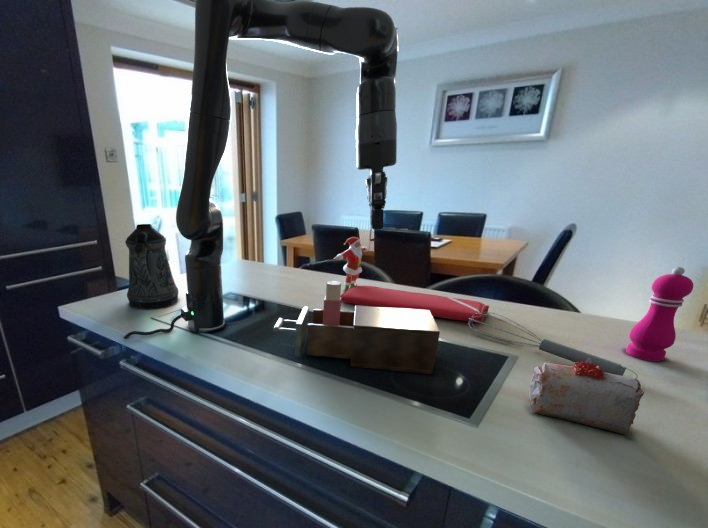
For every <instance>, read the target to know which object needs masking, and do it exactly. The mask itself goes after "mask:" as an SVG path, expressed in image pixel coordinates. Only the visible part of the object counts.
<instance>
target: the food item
mask: <svg viewBox="0 0 708 528" xmlns="http://www.w3.org/2000/svg"><path fill="white" fill-rule="evenodd" d="M644 394H645V392H644V391H643V390H642V385H641V383H640V380H638V378H637V379H636V377H630V376H625V375H622V376H620V375H615V374H611V373H606V372H603V369H602V368H601V367H600V366H597V365H594V363H592V360H591V359H587V360H586V361H582V362H579V361H578V362H574V363H573V366H572V365H566V364H558V363H551V362H546V361H545V362H543V364H542V366H538V365H537V366H534V368H533V375H532V378H531V381H530V384H529V400H530V406H531V408H532V412H533V413H535V414H539V415H543V416H548V417H551V418H558V419H563V420H566V421H570V422H575V423H578V424H582V425H586V426H590V427H594V428H597V429H601V430H605V431H610V432H615V433H617V434H621V435H626V436H629V435H630V434H631V431H630V430H631V427H632V425H634V422H635V418H636V416H637V414H636V412H637V411H638V410H639V407H640V405H641V404H640V401H641V399H642V398H643V396H644Z"/></svg>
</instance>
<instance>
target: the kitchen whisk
mask: <svg viewBox="0 0 708 528" xmlns="http://www.w3.org/2000/svg"><path fill="white" fill-rule="evenodd" d="M489 313H490V314H494V315H497V316H500V317H502V318H504V319H506V320H508V321H510V322H513V323H514V324H516V326H515V325H514V324H512V323H509V322H508V321H505V320H503V319H501V318H498V317H496V316H493V315H490V314H489ZM477 314H478V313H477ZM479 314H482V313H481V312H479ZM474 315H476V314H474ZM474 315H473V316H472V318H471V319H470V318H469V319H470V320H471V321H472V320H473V318H474ZM484 315H485V317H487V318H491V319H495V320H498V321H501V322H503V323H506V324H508V325H510V326H512V327H514V328H516V329H518V330H520V331H522V332H524V333H525V334H527V335H529V336H531V337H533V338H534V339H536V340H538V341H539V342H538V341H536V340H532V339H530V338H527V337H524V336H521V335H519V334H516V333H513V332H510V331H507V330H504V329H502V328H499V327H496V326H493V325H490V324H487V323H485V322H483V321H482V322H479V321H476V320H473V321H476V322H475V323H479V324H481V325H484V326H486V327H490V328H493V329H495V330H498V331H501V332H504V333H507V334H510V335H513V336H516V337H519V338H522V339H524V340H527V341H530V342H533V343H536V344H532V343H527V342H521V341H516V340H511V339H506V338H502V337H497V336H493V335H491V334H487V333H484V332H483V331H481V330H480V329H478V328H476V327H475V325H474V324H473V323H474V322H471V321H467V322H468V323H467V324H468V326H469V328H470V331H472V332H473V334H475V335H477V336H478V337H480V338H483V339H486V340H489V341H492V342H495V343H496V342H497V343H501V344H504V342H502V341H505V345H510V342H511V345H512V346H517V344H519V347H520V346H522V347H526V346H529V347H530V348H531V347H532V348H538V350H539V351H542V352H544V353H545V352H546V353H547V354H550V355H554V356H556V357H558V358H561V359H564V360H567V361H570V362H572V363H575V362H578V361H579V362H582V361H586V360H587V359H591V360H592V363H594V365H597V366H600V367H601V368H602V369H603V372H606V373H611V374H615V375H620V376H624V374H625V372H626V370H628V371H630V372H632V373H634V375H635V376H636V377H635V378H636V379H637V380H638V374H637V373H636V372H635V371H633V370H632V369H629V368H628V367H627V366H623V365H622V364H621V363H618V362H614V361H612V360H609V359H605V358H603V357H600V356H597V355H594V354H591V353H588V352H586V351H583V350H580V349H576V348H574V347H571V346H567V345H564V344H562V343H560V342H559V343H558V342H555V341H553V340H550V339H547V338H544V339H541V338H540V337H539V336H538V335H537V334H535V333H533V332H532V331H530V330H528V329H527V328H526V327H524V326H523V325H521V324H519V323H517V322H516V321H514V320H512V319H510V318H507V317H506V316H503V315H501V314H498V313H495V312H491V311H488V313H487V314H484ZM475 317H478V316H475ZM472 326H473V327H472ZM518 326H520V327H518ZM475 331H476V332H477V333H476V332H475ZM527 331H528V332H527ZM478 333H480V334H482V335H485V336H489V337H491V338H494V339H498V340H502V341H498V340H493V339H490V338H487V337H484V336H481V335H480V334H478ZM514 343H515V344H514Z"/></svg>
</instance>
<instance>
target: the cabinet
mask: <svg viewBox="0 0 708 528" xmlns="http://www.w3.org/2000/svg"><path fill="white" fill-rule="evenodd" d="M354 312H355V315H354V329H353V341H352V352H351V359H350V363H349V366H350V367H352V368H362V369H372V370H373V369H374V370H381V371H383V370H384V371H393V372H404V373H411V374H412V373H414V374H423V375H433V373H434V367H435V362H436V356H437V352H438V351H437V350H438V345H439V341H440V333H441V331H440V329H439V326H438V325H437V323H436V321H435V318H434V316H432V314H431V312H430V310H419V309H403V308H387V307H371V306H364V305H355V306H354Z"/></svg>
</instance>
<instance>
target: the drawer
mask: <svg viewBox="0 0 708 528" xmlns="http://www.w3.org/2000/svg"><path fill="white" fill-rule="evenodd" d="M309 310H310V308H309V306H303V308H302V310H301V312H300V313H299V316H298V319H297V320H293V319H284V318H283V317H279V318H278V320H277V321H276V323H275V324H274V326H273V327H272V328H273V329H272V331H273V332H274V333H276V334H277V333H279V332H287V333H295V340H294V341H295V342H294V343H295V345H294V346H295V347H294V357H299V358H301V356H302V353H303V350H304V347H305V345H306V356H316V357H325V358H326V357H327V358H336V359H348V360H351V352H352V341H353V329H354V315H355V311H353V310H352V311H351V310H340V324H339V326H338V325H324V324H323V311H324V309H320V308H313V309H312V322H311V323H310V322H309V312H310V311H309ZM283 324H295V328H289V327H288V328H287V327H282V326H283Z"/></svg>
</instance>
